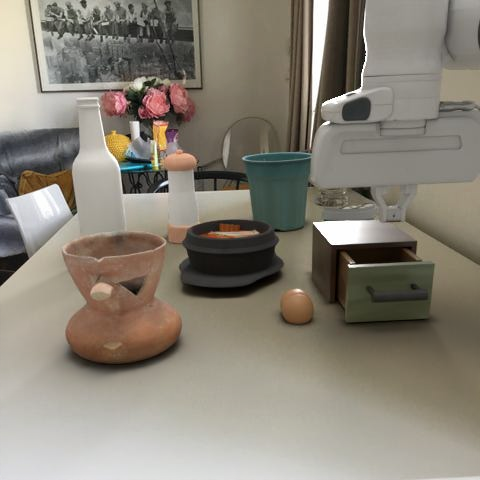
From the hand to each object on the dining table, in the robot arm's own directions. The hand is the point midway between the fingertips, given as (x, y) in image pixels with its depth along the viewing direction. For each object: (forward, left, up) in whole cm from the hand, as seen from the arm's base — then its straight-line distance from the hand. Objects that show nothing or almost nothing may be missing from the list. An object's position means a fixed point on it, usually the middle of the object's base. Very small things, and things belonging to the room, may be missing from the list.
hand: (391, 221), depth 71 cm
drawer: (-1, -6, -14) cm, 15 cm away
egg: (+11, -5, -15) cm, 19 cm away
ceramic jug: (+34, +1, -15) cm, 37 cm away
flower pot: (+6, -64, -15) cm, 66 cm away
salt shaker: (+28, -55, -15) cm, 63 cm away
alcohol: (+43, -41, -15) cm, 61 cm away
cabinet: (-1, -17, -15) cm, 22 cm away
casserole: (+19, -28, -15) cm, 37 cm away
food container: (-5, -35, -15) cm, 38 cm away
